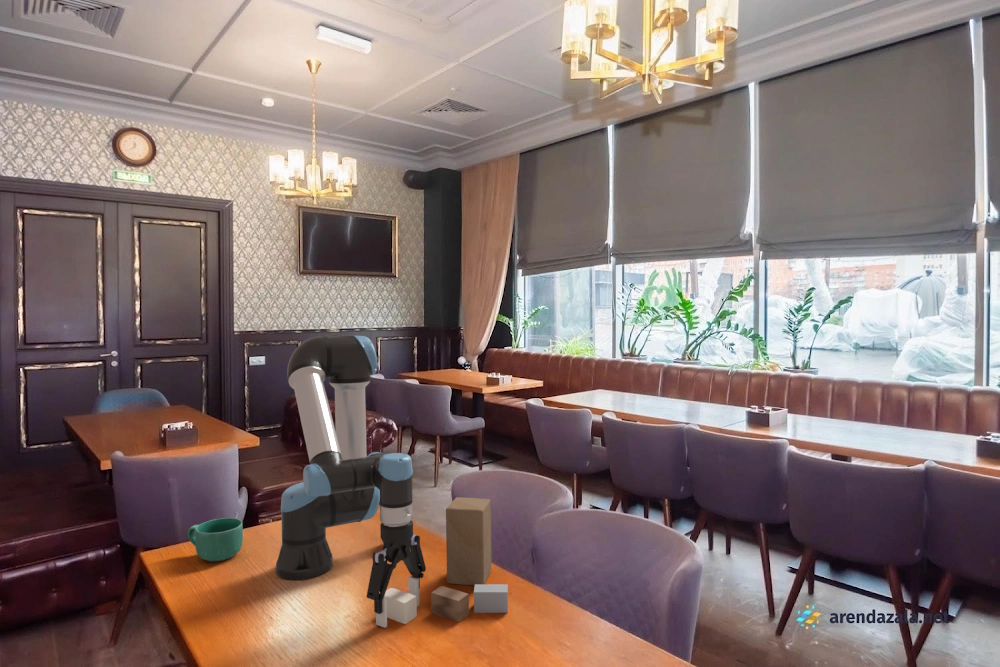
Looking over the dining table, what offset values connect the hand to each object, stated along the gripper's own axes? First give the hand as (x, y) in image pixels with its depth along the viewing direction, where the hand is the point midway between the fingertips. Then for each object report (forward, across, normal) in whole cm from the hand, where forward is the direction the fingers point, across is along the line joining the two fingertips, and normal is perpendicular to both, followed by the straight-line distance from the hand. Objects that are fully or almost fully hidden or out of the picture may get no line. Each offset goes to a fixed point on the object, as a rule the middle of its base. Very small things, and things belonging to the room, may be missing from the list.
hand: (398, 614), depth 136 cm
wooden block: (0, +25, -3) cm, 25 cm away
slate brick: (0, +14, -17) cm, 22 cm away
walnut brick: (0, +7, -10) cm, 12 cm away
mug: (+1, -2, +70) cm, 70 cm away
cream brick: (0, 0, 0) cm, 0 cm away
